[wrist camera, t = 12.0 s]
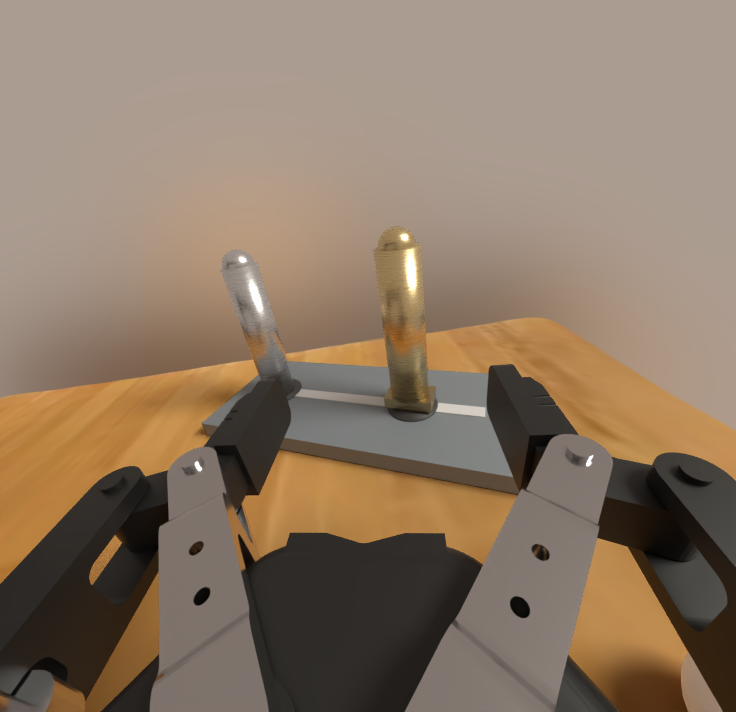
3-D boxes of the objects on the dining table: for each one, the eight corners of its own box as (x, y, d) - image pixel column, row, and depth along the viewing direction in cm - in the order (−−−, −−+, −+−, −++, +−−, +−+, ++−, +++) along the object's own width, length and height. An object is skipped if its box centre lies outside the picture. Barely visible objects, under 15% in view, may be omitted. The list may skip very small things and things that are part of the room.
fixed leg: (260, 398, 31) (206, 255, 24) (277, 382, 34) (232, 248, 27) (284, 401, 30) (235, 252, 23) (300, 384, 32) (259, 245, 26)
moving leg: (383, 410, 26) (357, 233, 19) (393, 389, 29) (374, 226, 22) (430, 416, 25) (420, 226, 18) (436, 392, 27) (429, 219, 20)
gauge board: (207, 435, 29) (200, 422, 29) (278, 370, 39) (275, 359, 38) (532, 496, 19) (535, 479, 19) (519, 388, 29) (521, 374, 28)
